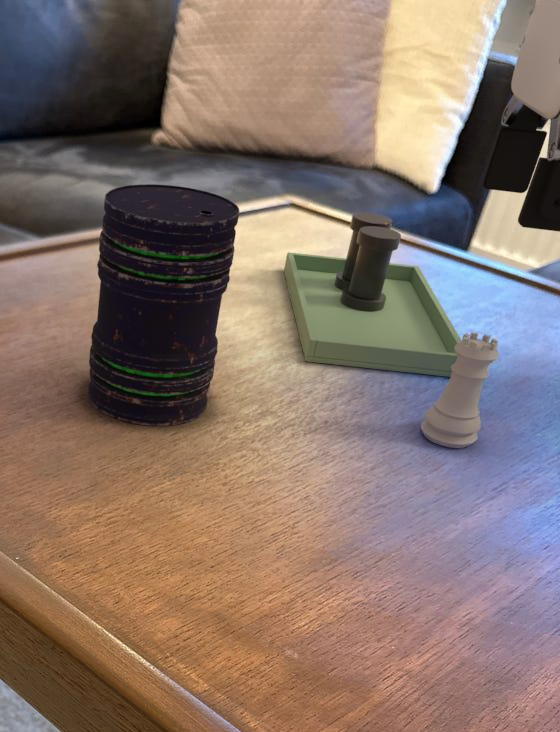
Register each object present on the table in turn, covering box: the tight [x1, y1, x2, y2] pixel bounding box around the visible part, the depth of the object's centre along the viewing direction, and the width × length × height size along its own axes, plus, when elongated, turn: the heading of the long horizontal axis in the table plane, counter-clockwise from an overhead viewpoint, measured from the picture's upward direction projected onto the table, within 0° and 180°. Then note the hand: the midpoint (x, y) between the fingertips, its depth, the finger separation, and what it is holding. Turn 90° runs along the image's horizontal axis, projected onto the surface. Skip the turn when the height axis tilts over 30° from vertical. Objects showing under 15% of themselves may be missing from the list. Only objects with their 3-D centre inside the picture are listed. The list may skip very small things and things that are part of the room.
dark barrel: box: [87, 183, 240, 427], centre depth 74 cm, size 10×10×15 cm
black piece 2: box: [340, 226, 402, 312], centre depth 97 cm, size 4×4×7 cm
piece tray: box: [283, 251, 462, 378], centre depth 97 cm, size 14×25×2 cm, turn 175°
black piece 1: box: [334, 211, 393, 290], centre depth 101 cm, size 4×4×7 cm
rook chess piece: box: [420, 331, 500, 449], centre depth 75 cm, size 4×4×8 cm
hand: (521, 208), depth 67 cm, fingers open, 9 cm apart
